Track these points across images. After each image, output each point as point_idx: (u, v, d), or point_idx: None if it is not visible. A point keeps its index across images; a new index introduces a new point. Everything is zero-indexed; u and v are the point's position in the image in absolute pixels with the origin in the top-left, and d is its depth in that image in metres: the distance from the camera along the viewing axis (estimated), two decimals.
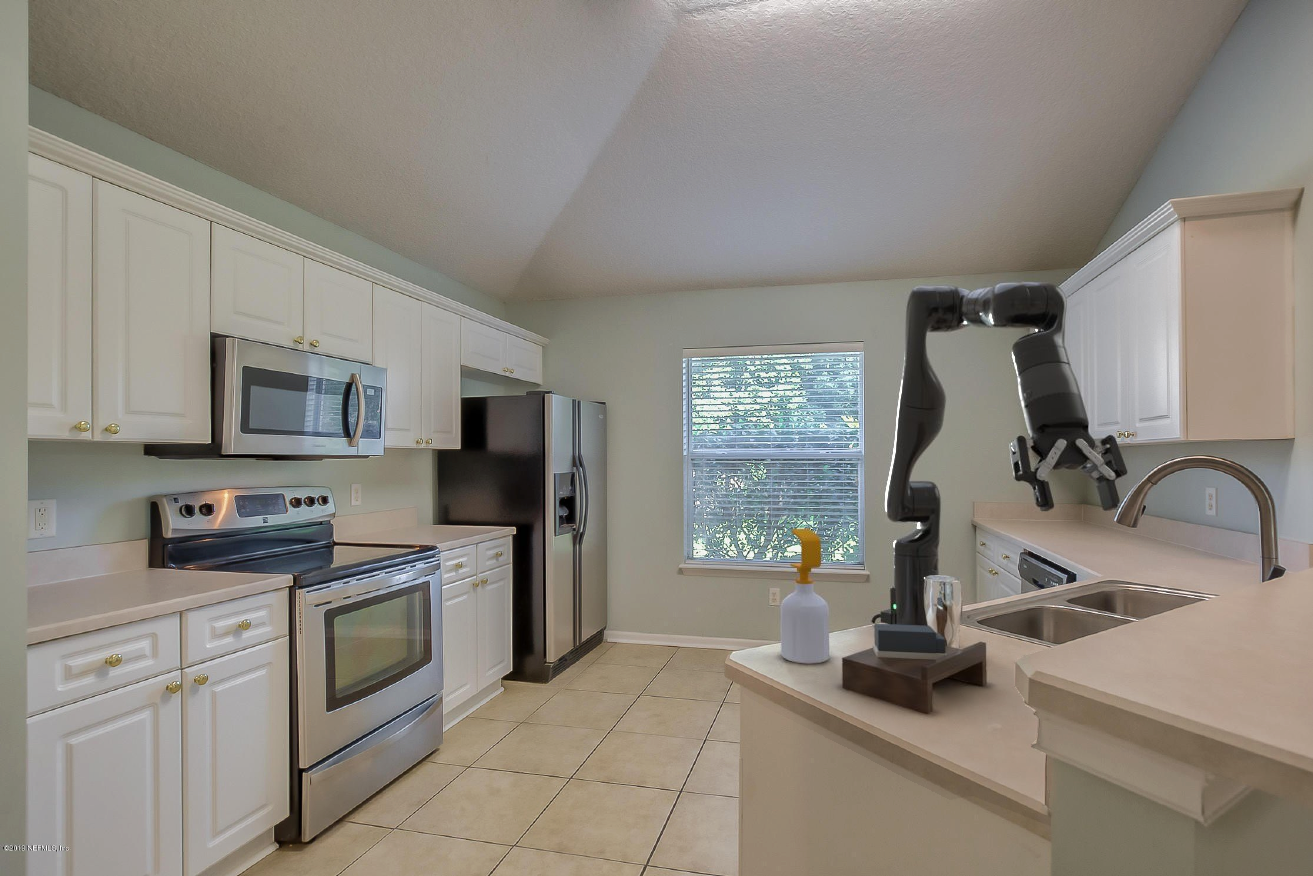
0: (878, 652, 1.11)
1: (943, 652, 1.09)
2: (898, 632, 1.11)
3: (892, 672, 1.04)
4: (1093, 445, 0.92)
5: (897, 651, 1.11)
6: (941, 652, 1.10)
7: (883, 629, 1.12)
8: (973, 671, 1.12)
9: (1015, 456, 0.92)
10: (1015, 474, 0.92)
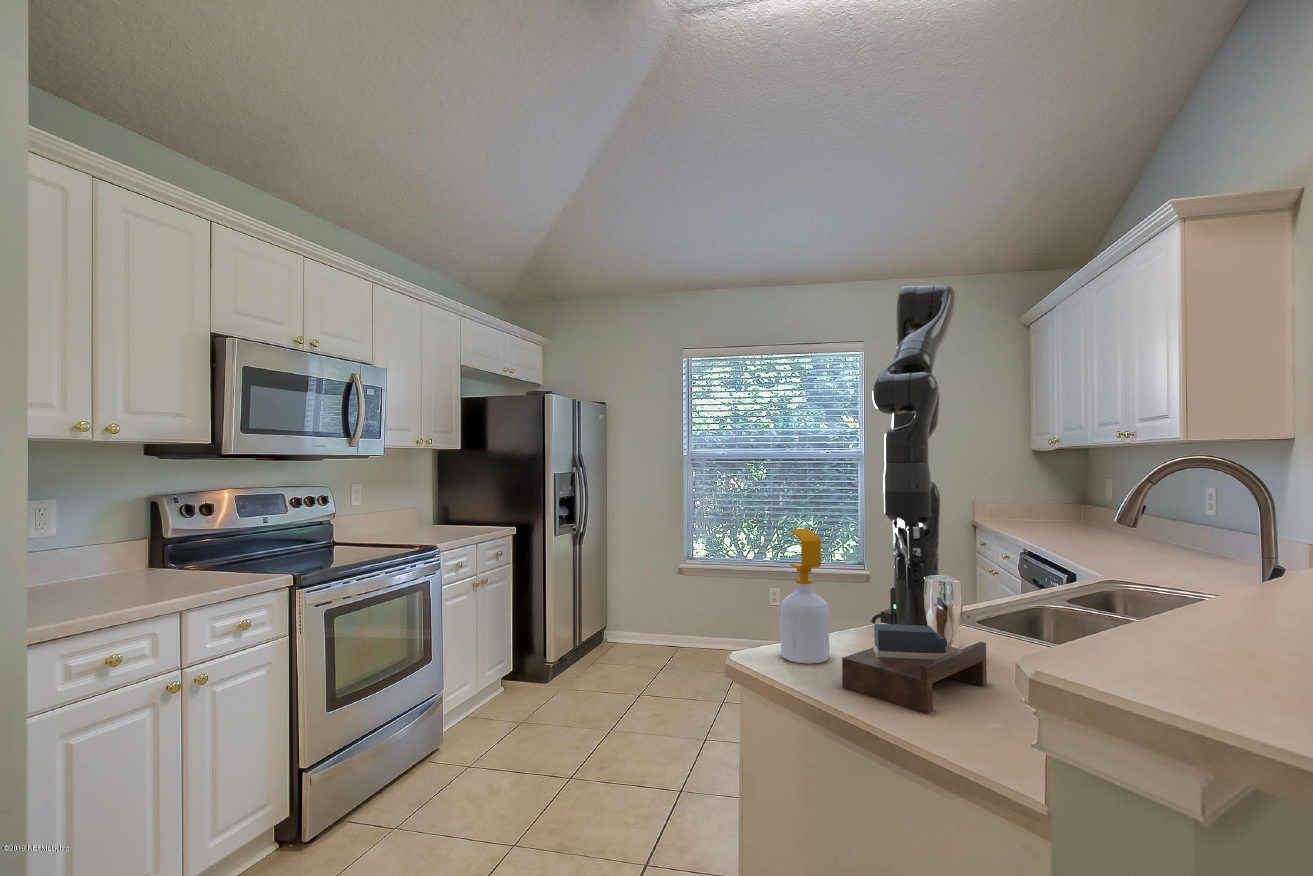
0: (878, 652, 1.11)
1: (943, 652, 1.09)
2: (898, 632, 1.11)
3: (892, 672, 1.04)
4: (906, 533, 1.09)
5: (897, 651, 1.11)
6: (941, 652, 1.10)
7: (883, 629, 1.12)
8: (973, 671, 1.12)
9: None
10: None
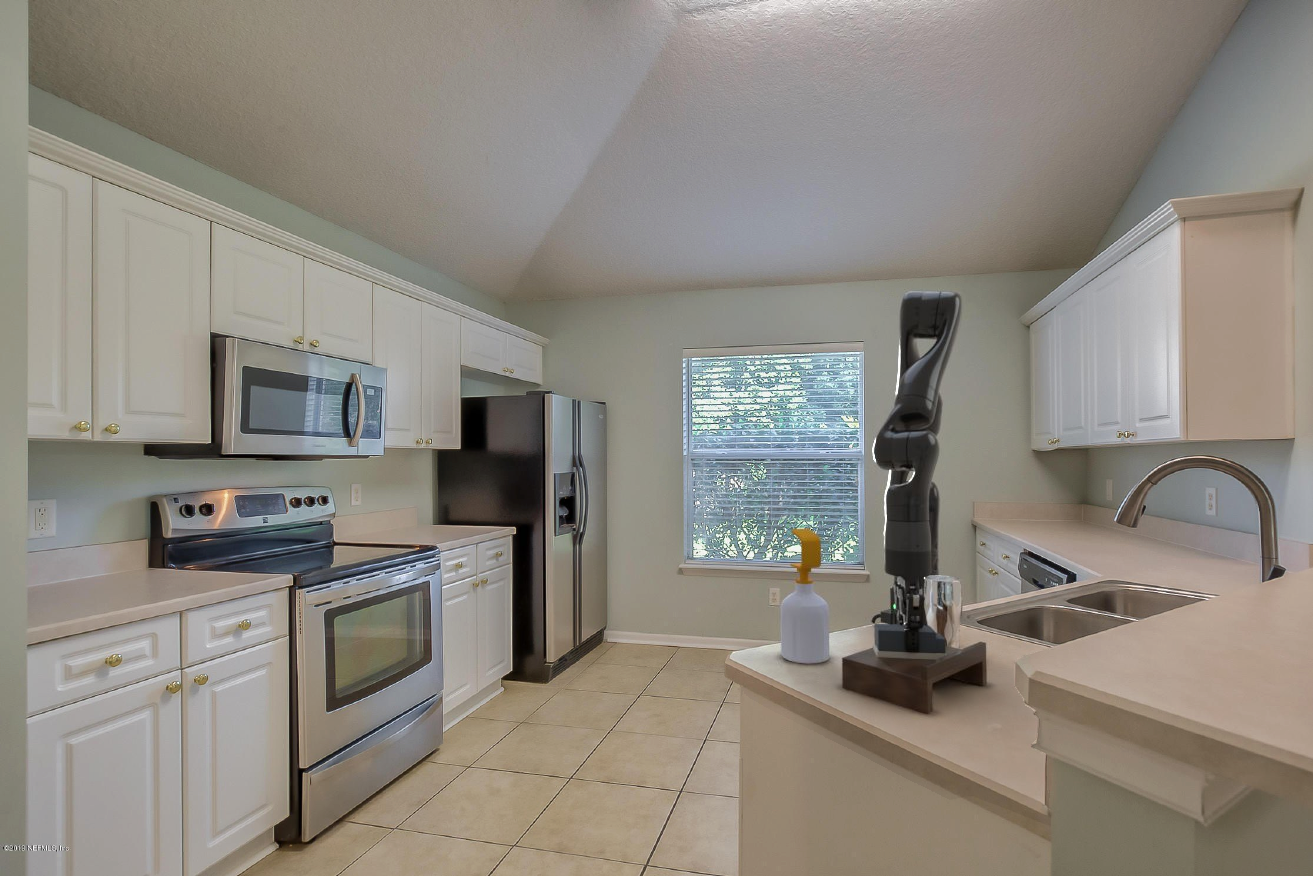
0: (878, 652, 1.11)
1: (943, 652, 1.09)
2: (898, 632, 1.11)
3: (892, 672, 1.04)
4: (905, 594, 1.09)
5: (897, 651, 1.11)
6: (941, 652, 1.10)
7: (883, 629, 1.12)
8: (973, 671, 1.12)
9: None
10: None
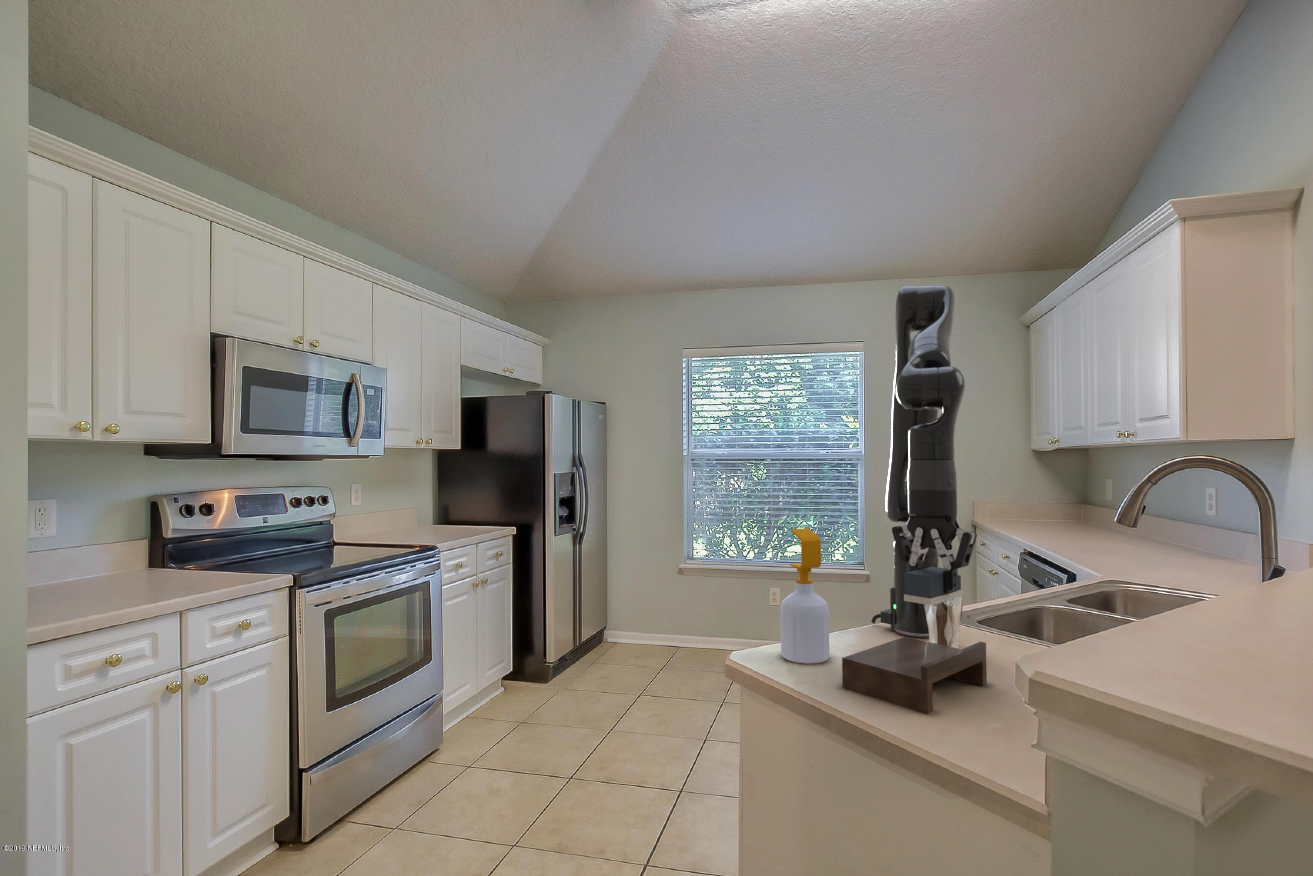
0: (930, 600, 1.04)
1: (960, 588, 1.11)
2: (940, 575, 1.06)
3: (892, 672, 1.04)
4: (949, 534, 1.06)
5: (940, 595, 1.06)
6: (959, 589, 1.11)
7: (929, 575, 1.05)
8: (973, 671, 1.12)
9: None
10: None
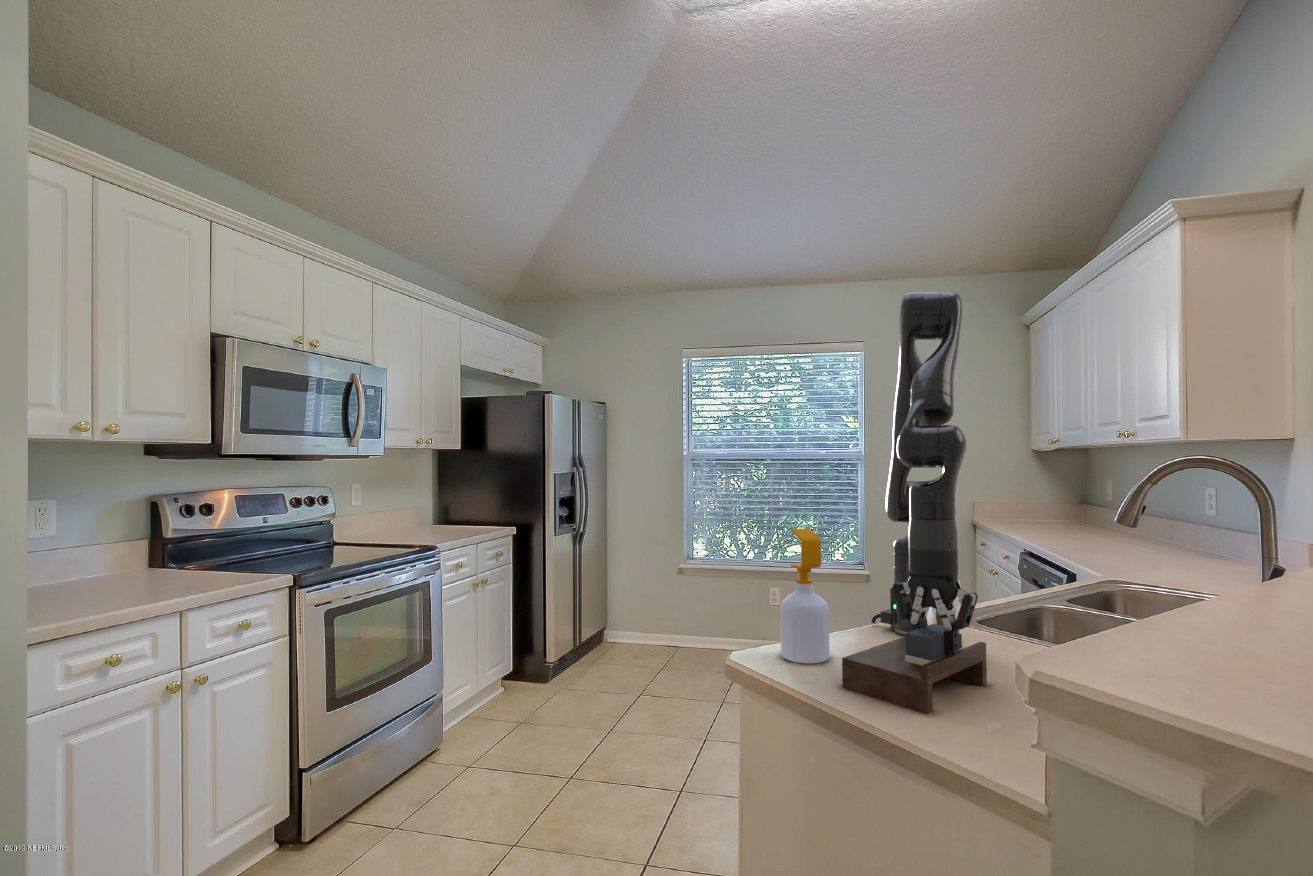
0: None
1: (961, 647, 1.11)
2: (941, 636, 1.06)
3: (892, 672, 1.04)
4: (950, 595, 1.06)
5: (941, 656, 1.06)
6: (960, 647, 1.10)
7: (930, 636, 1.05)
8: (973, 671, 1.12)
9: None
10: None
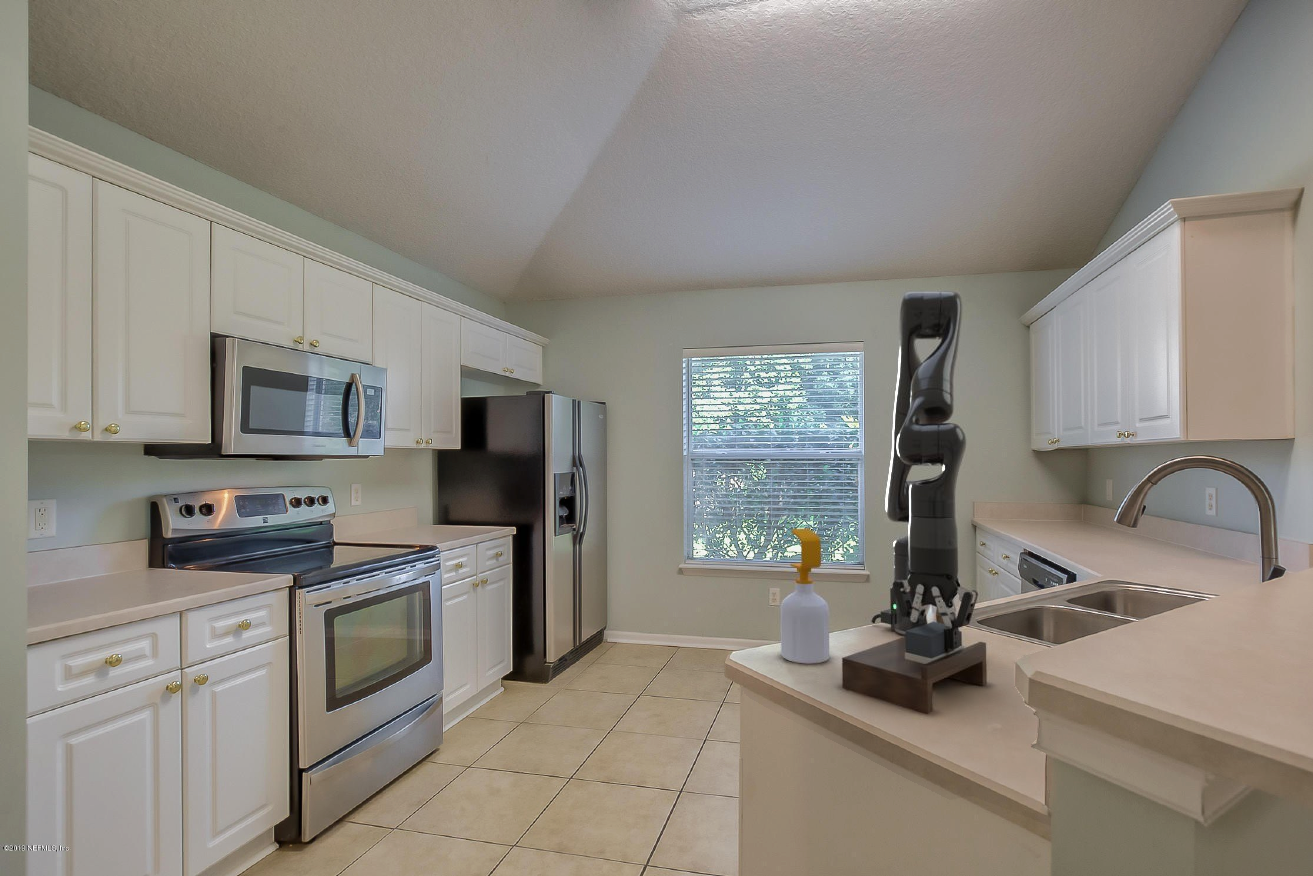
0: (931, 660, 1.04)
1: (961, 644, 1.11)
2: (941, 634, 1.06)
3: (892, 672, 1.04)
4: (950, 592, 1.06)
5: (941, 654, 1.06)
6: (960, 645, 1.10)
7: (930, 634, 1.05)
8: (973, 671, 1.12)
9: None
10: None
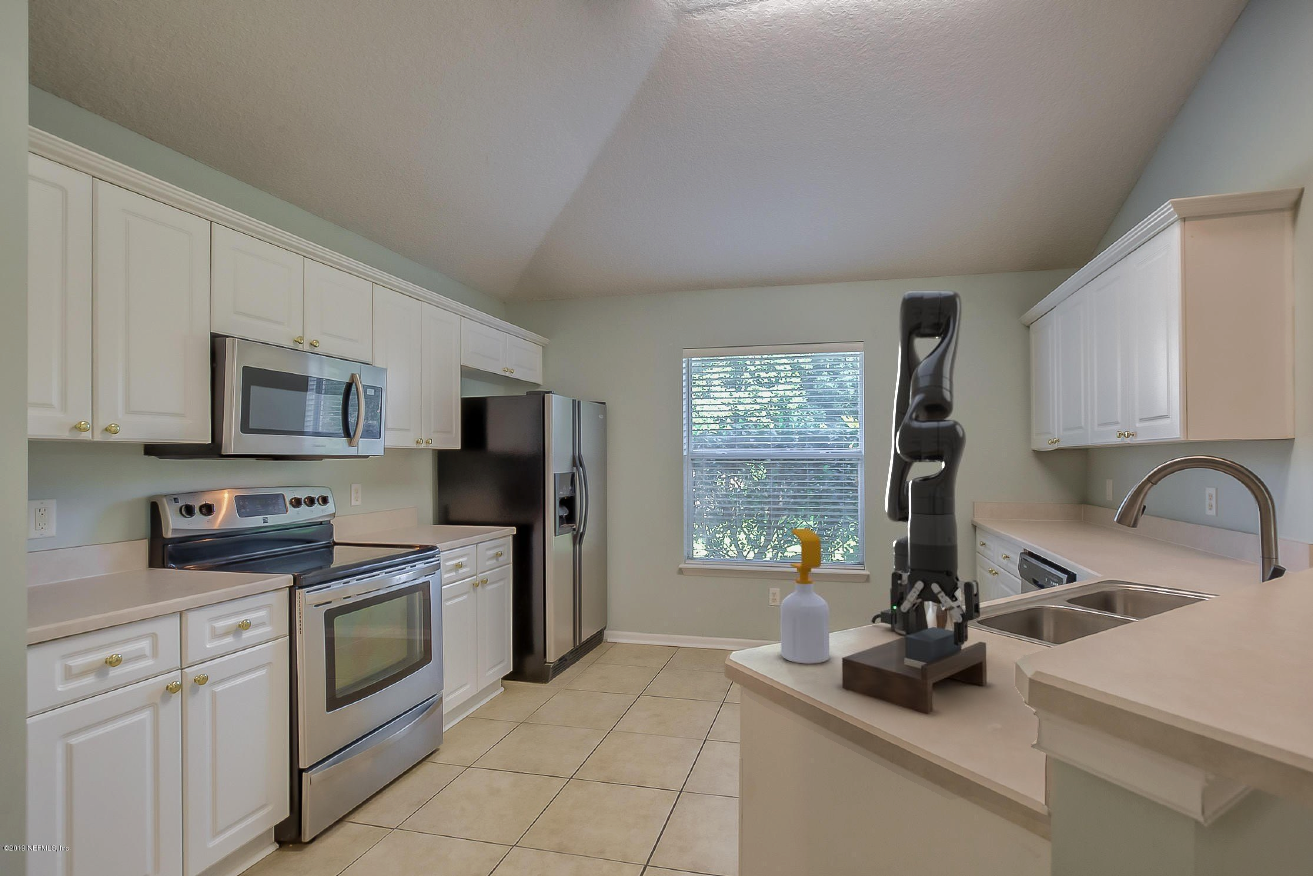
0: None
1: None
2: (940, 639, 1.06)
3: (892, 672, 1.04)
4: (952, 588, 1.06)
5: None
6: None
7: (930, 640, 1.05)
8: (973, 671, 1.12)
9: None
10: None
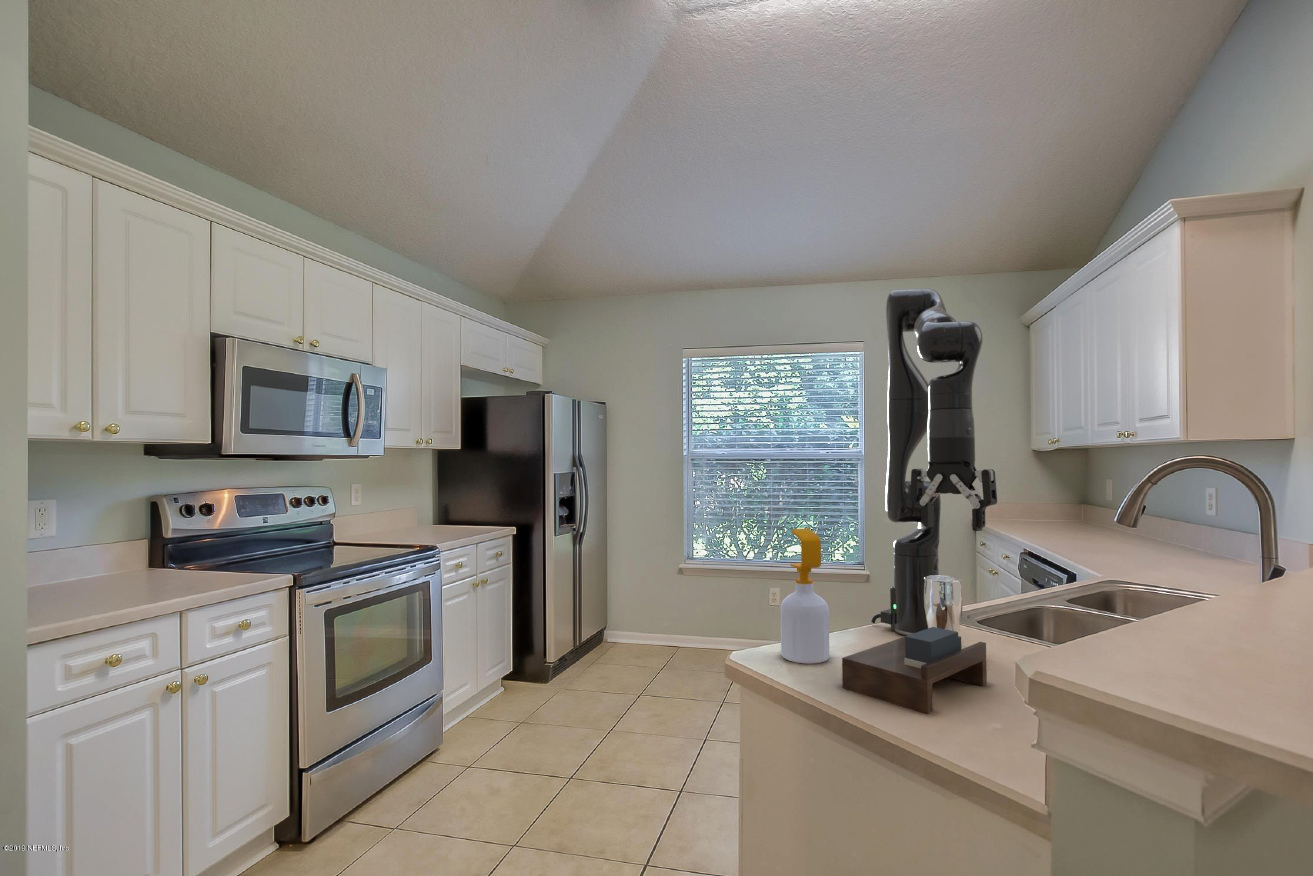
0: None
1: None
2: (940, 639, 1.06)
3: (892, 672, 1.04)
4: (970, 478, 1.12)
5: None
6: None
7: (930, 640, 1.05)
8: (973, 671, 1.12)
9: None
10: None
